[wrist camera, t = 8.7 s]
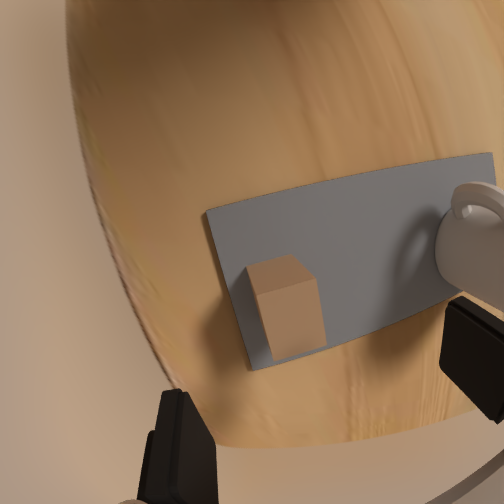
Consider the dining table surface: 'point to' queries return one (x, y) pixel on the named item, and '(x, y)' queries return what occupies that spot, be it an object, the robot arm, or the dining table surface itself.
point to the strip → (338, 255)
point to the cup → (474, 242)
